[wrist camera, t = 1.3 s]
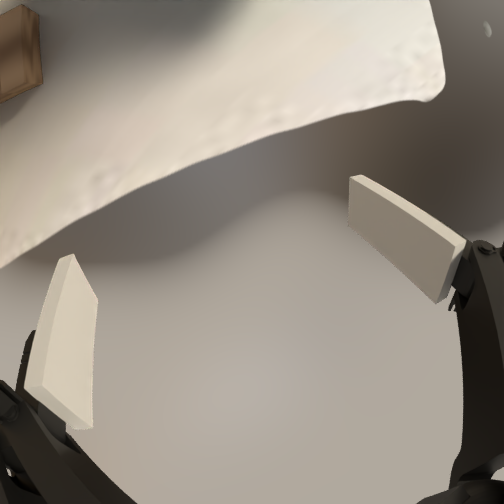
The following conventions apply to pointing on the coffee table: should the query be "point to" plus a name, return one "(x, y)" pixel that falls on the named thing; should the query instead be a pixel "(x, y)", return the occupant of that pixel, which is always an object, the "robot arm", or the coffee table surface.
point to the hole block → (19, 52)
